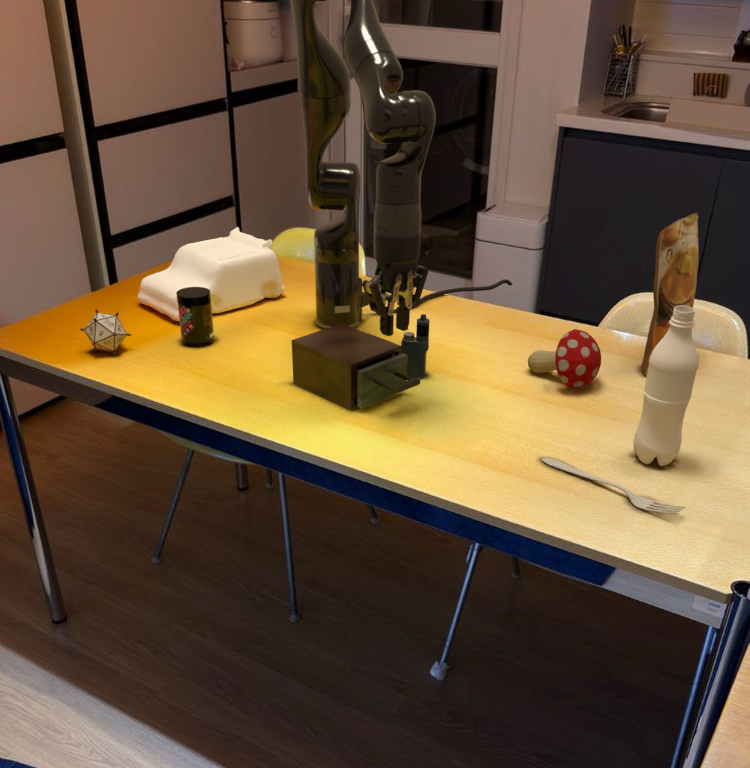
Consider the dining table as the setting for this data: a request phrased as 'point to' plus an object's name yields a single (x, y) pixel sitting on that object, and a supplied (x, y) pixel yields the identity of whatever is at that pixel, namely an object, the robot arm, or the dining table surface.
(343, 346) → the cabinet
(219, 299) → the white toy car
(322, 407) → the dining table surface
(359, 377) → the drawer
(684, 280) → the pancake mix bag
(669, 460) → the water bottle
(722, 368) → the dining table surface
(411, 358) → the vaping device
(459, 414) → the dining table surface
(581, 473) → the fork
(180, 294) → the supplement container
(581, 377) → the decorative mushroom
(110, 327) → the game die
